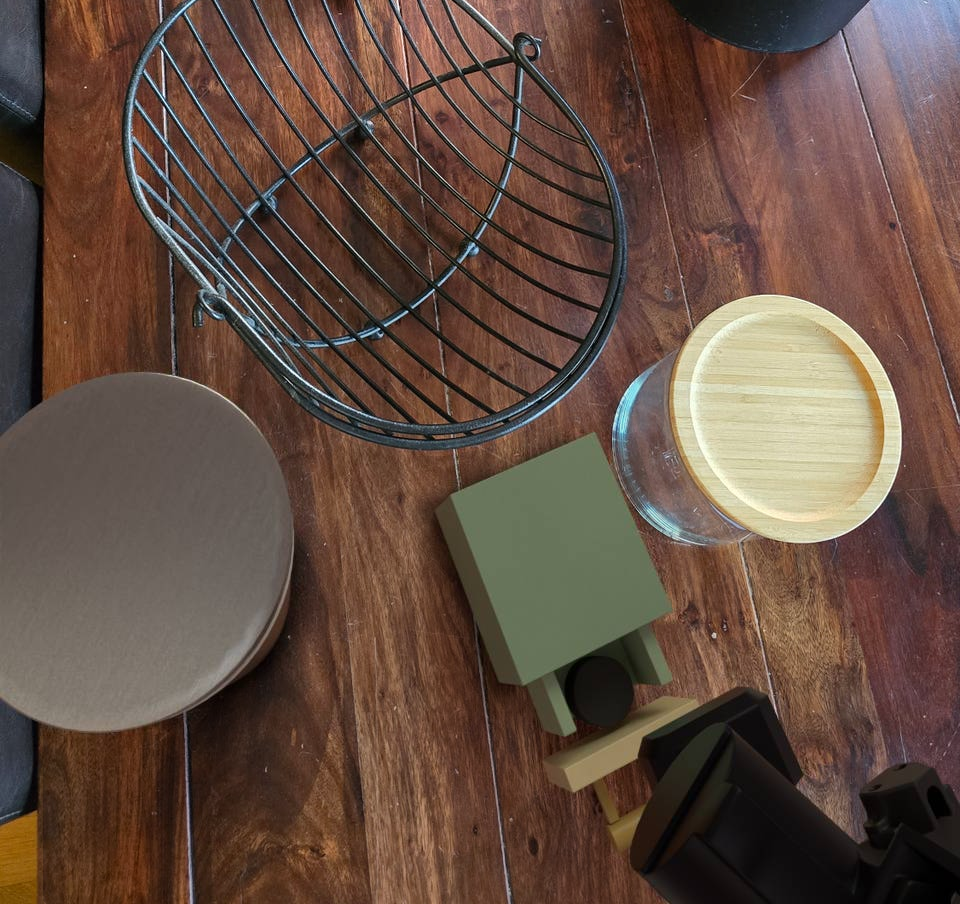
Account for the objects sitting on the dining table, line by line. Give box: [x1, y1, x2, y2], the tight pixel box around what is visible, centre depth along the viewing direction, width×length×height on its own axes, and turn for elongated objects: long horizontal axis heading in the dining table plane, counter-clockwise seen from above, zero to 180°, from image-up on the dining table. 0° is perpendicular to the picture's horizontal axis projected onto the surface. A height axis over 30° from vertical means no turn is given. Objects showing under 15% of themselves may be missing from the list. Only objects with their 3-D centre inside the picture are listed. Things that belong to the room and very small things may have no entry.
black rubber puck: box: [564, 656, 635, 728], centre depth 67 cm, size 4×4×2 cm
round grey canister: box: [0, 371, 295, 734], centre depth 52 cm, size 10×10×40 cm
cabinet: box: [434, 431, 674, 687], centre depth 69 cm, size 11×10×8 cm
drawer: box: [525, 622, 700, 854], centre depth 66 cm, size 13×8×6 cm, turn 23°
